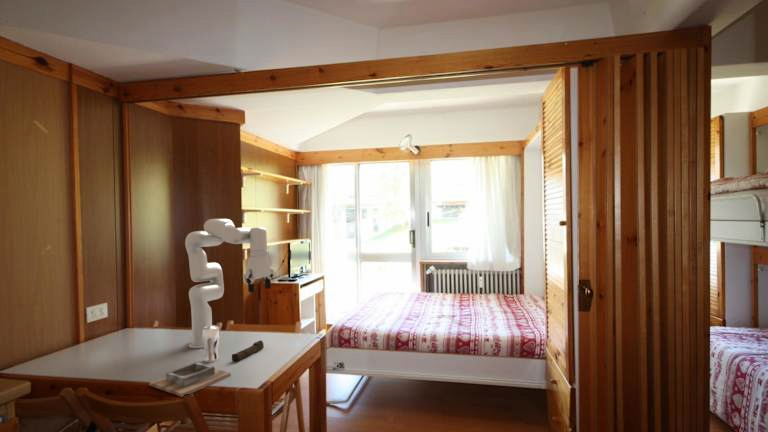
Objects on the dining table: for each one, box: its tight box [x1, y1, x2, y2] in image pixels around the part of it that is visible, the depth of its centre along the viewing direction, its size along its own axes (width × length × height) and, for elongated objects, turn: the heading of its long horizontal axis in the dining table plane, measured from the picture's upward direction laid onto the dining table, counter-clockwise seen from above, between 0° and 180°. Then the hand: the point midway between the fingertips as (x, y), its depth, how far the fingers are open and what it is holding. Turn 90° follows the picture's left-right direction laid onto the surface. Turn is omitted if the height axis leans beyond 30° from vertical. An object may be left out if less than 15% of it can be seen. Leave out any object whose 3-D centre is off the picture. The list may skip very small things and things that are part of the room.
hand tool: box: [231, 340, 264, 363], centre depth 170 cm, size 19×4×5 cm, turn 156°
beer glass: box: [203, 324, 220, 363], centre depth 165 cm, size 7×7×15 cm
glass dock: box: [149, 361, 231, 398], centre depth 143 cm, size 22×20×4 cm
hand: (259, 290), depth 166 cm, fingers open, 9 cm apart
